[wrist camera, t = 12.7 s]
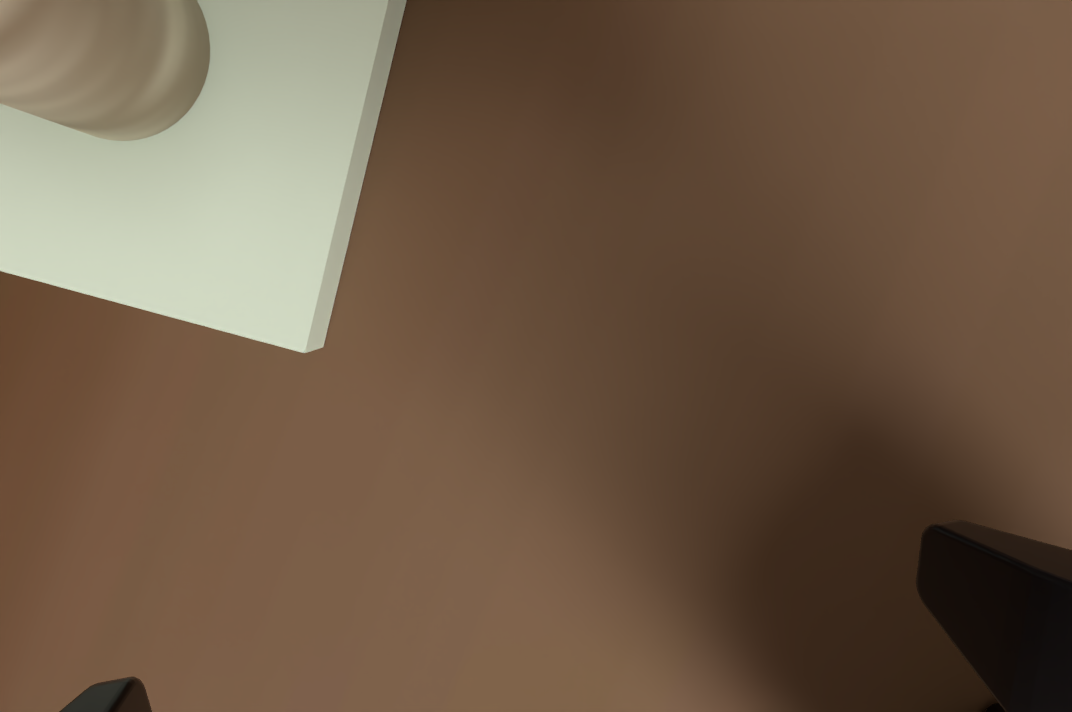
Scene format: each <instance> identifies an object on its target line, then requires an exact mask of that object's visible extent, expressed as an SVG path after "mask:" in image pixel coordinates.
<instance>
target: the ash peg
mask: <svg viewBox="0 0 1072 712" xmlns="http://www.w3.org/2000/svg"><path fill="white" fill-rule="evenodd" d="M209 62H210V40H209V33H208V28H207V24H206V20H205V18H204V15H203V12H202V10H201V8H200V6H199V4H198V2H197V0H0V104H3V105H6V106H9V107H12V108H14V109H17V110H20V111H23V112H26V113H29V114H32V115H35V116H37V117H40V118H43V119H46V120H49V121H52V122H55V123H57V124H60V125H63V126H66V127H69V128H72V129H75V130H78V131H80V132H83V133H86V134H89V135H92V136H95V137H98V138H102V139H107V140H115V141H131V140H138V139H143V138H147V137H150V136H153V135H156V134H158V133H160V132H162V131H164V130H166V129H168V128H169V127H171V126H172V125H174V124H175V123H177V122H178V121H179V120H180V119H181V118H182V117H183V116H184V115H185V114H186V113H187V112H188V111H189V110H190V108H191V107H192V106H193V105H194V103H195V101H196V100H197V98H198V96H199V95H200V93H201V90H202V88H203V86H204V84H205V80H206V77H207V73H208V68H209Z"/></svg>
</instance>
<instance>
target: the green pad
mask: <svg viewBox="0 0 1072 712" xmlns="http://www.w3.org/2000/svg"><path fill="white" fill-rule="evenodd" d="M406 1H407V0H197V2H198V4H199V6H200V8H201V10H202V12H203V15H204V18H205V20H206V24H207V28H208V33H209V40H210V62H209V68H208V73H207V77H206V80H205V84H204V86H203V88H202V90H201V93H200V95H199V96H198V98H197V100H196V101H195V103H194V105H193V106H192V107H191V108H190V110H189V111H188V112H187V113H186V114H185V115H184V116H183V117H182V118H181V119H180V120H179V121H178V122H177V123H175V124H174V125H172V126H171V127H169V128H168V129H166V130H164V131H162V132H160V133H158V134H156V135H153V136H150V137H147V138H143V139H138V140H131V141H115V140H107V139H102V138H98V137H95V136H92V135H89V134H86V133H83V132H80V131H78V130H75V129H72V128H69V127H66V126H63V125H60V124H57V123H55V122H52V121H49V120H46V119H43V118H40V117H37V116H35V115H32V114H29V113H26V112H23V111H20V110H17V109H14V108H12V107H9V106H6V105H3V104H0V271H3V272H7V273H10V274H14V275H18V276H21V277H25V278H29V279H32V280H36V281H40V282H43V283H47V284H51V285H55V286H58V287H62V288H66V289H69V290H73V291H77V292H80V293H84V294H88V295H92V296H95V297H99V298H103V299H106V300H110V301H114V302H117V303H121V304H125V305H128V306H132V307H136V308H140V309H143V310H147V311H151V312H154V313H158V314H162V315H165V316H169V317H173V318H176V319H180V320H184V321H188V322H191V323H195V324H199V325H202V326H206V327H210V328H213V329H217V330H221V331H224V332H228V333H232V334H236V335H239V336H243V337H247V338H250V339H254V340H258V341H261V342H265V343H269V344H273V345H276V346H280V347H284V348H287V349H291V350H295V351H298V352H302V353H307V352H310V351H313V350H316V349H319V348H322V347H323V346H324V342H325V338H326V334H327V329H328V325H329V321H330V317H331V313H332V309H333V304H334V300H335V296H336V292H337V288H338V284H339V279H340V275H341V271H342V267H343V263H344V259H345V255H346V250H347V246H348V242H349V238H350V234H351V230H352V225H353V221H354V217H355V213H356V209H357V205H358V200H359V196H360V192H361V188H362V184H363V180H364V176H365V171H366V167H367V163H368V159H369V155H370V151H371V146H372V142H373V138H374V134H375V130H376V126H377V121H378V117H379V113H380V109H381V105H382V101H383V97H384V92H385V88H386V84H387V80H388V76H389V72H390V67H391V63H392V59H393V55H394V51H395V47H396V42H397V38H398V34H399V30H400V26H401V22H402V18H403V13H404V9H405V5H406Z"/></svg>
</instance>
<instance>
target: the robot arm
mask: <svg viewBox="0 0 1072 712" xmlns="http://www.w3.org/2000/svg"><path fill="white" fill-rule="evenodd" d="M916 585H917V590H918V593H919V596H920V598H921V600H922V602H923V603H924V605H925V606H926V608H927V609H928V610H929V612H930V613H931V614H932V616H933V617H934V618H935V620H936V621H937V622H938V623H939V625H940V626H941V627H942V629H943V630H944V631H945V633H946V634H947V635H948V637H949V638H950V639H951V641H952V642H953V643H954V645H955V646H956V647H957V649H958V650H959V651H960V653H961V654H962V655H963V657H964V658H965V659H966V661H967V662H968V663H969V664H970V666H971V667H972V668H973V670H974V671H975V672H976V674H977V675H978V676H979V678H980V679H981V680H982V682H983V683H984V684H985V686H986V687H987V688H988V690H989V691H990V692H991V694H992V695H993V696H994V697H995V699H996V700H997V701H998V702H999V703H997V704H994V705H992V706H990V707H989V708H988V709H987V710H986V711H985V712H1072V550H1069V549H1065V548H1061V547H1058V546H1054V545H1050V544H1047V543H1043V542H1039V541H1036V540H1032V539H1028V538H1025V537H1021V536H1017V535H1014V534H1010V533H1007V532H1003V531H999V530H996V529H992V528H988V527H985V526H981V525H977V524H974V523H970V522H966V521H962V520H952V521H947V522H941V523H936V524H931V525H929V526H928V527H926V528H925V530H924V532H923V533H922V537H921V544H920V552H919V561H918V569H917V577H916ZM60 712H152V710H151V707H150V703H149V700H148V696H147V693H146V689H145V687H144V685H143V683H142V682H141V680H140V679H138V678H135V677H127V678H122V679H117V680H111V681H106V682H101V683H97V684H94V685H92V686H90V687H89V688H88V689H86V690H85V691H84V692H82V693H81V694H80V695H79V696H78V697H76V698H75V699H74V700H73V701H72V702H70V703H69V704H68V705H67V706H66V707H64V708H63V709H62V710H61V711H60Z"/></svg>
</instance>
